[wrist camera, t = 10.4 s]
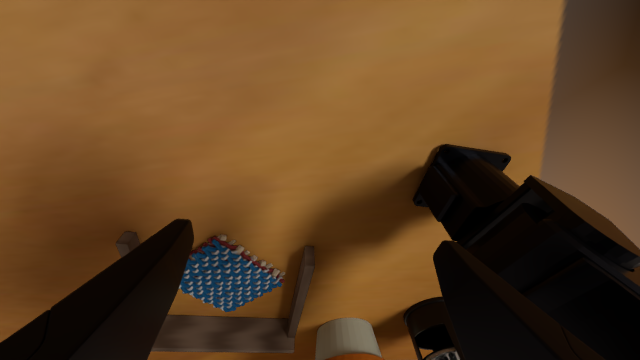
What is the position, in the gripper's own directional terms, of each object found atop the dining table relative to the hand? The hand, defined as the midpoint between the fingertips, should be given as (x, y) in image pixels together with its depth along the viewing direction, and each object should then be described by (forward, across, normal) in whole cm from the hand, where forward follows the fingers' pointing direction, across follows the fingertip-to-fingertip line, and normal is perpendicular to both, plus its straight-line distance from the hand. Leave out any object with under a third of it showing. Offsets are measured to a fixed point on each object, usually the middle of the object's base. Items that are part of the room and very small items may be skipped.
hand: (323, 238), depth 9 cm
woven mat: (+13, +7, +21) cm, 25 cm away
